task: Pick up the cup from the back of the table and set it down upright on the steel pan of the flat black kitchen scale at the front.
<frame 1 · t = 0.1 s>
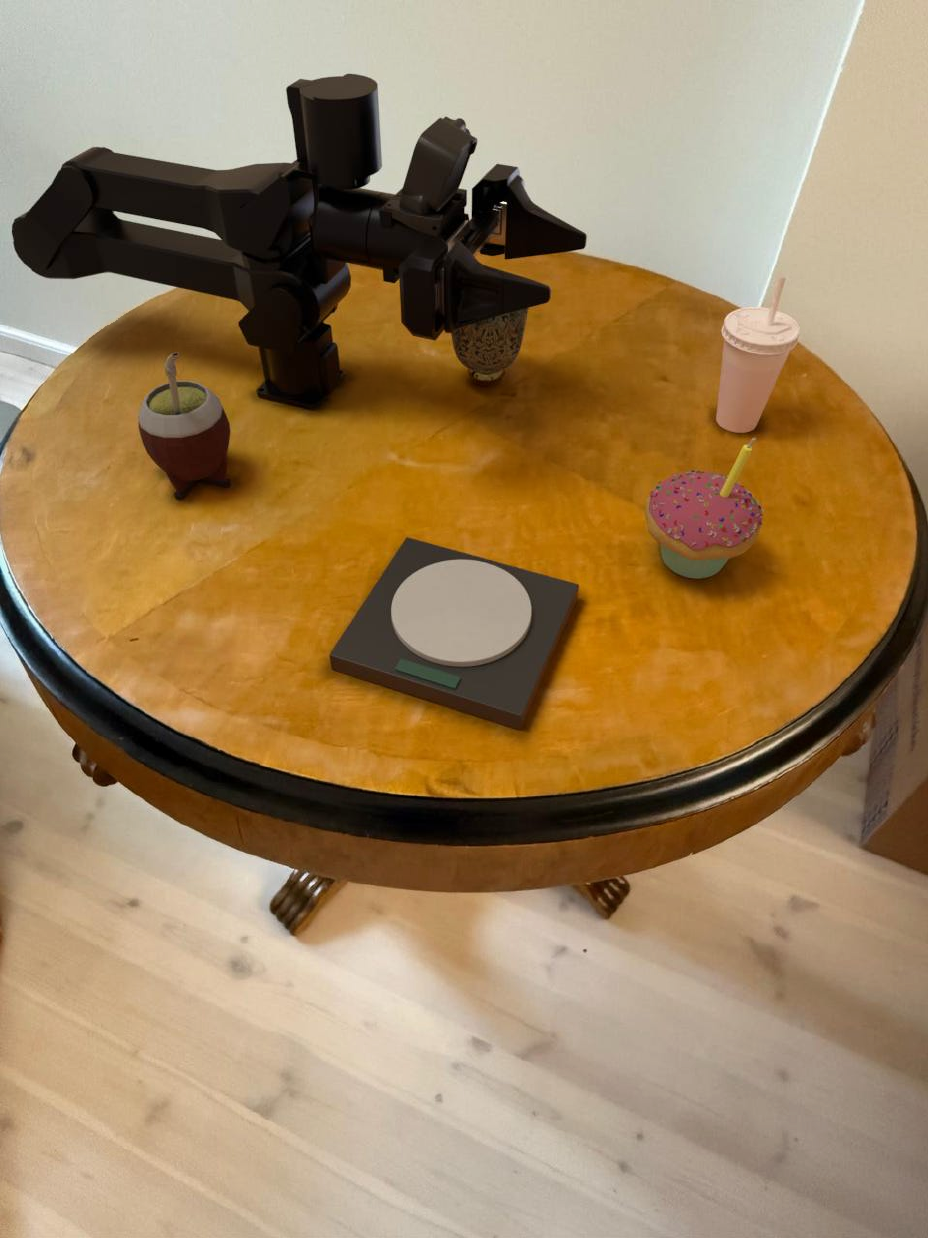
hand: (568, 266, 68), 17 cm above the table, tool horizontal, fingers open, 9 cm apart
smoothie: (735, 422, 83), on the table
scale: (458, 633, 65), on the table
cupcake: (690, 560, 70), on the table
mate gourd: (201, 482, 77), on the table
cup: (486, 379, 88), on the table
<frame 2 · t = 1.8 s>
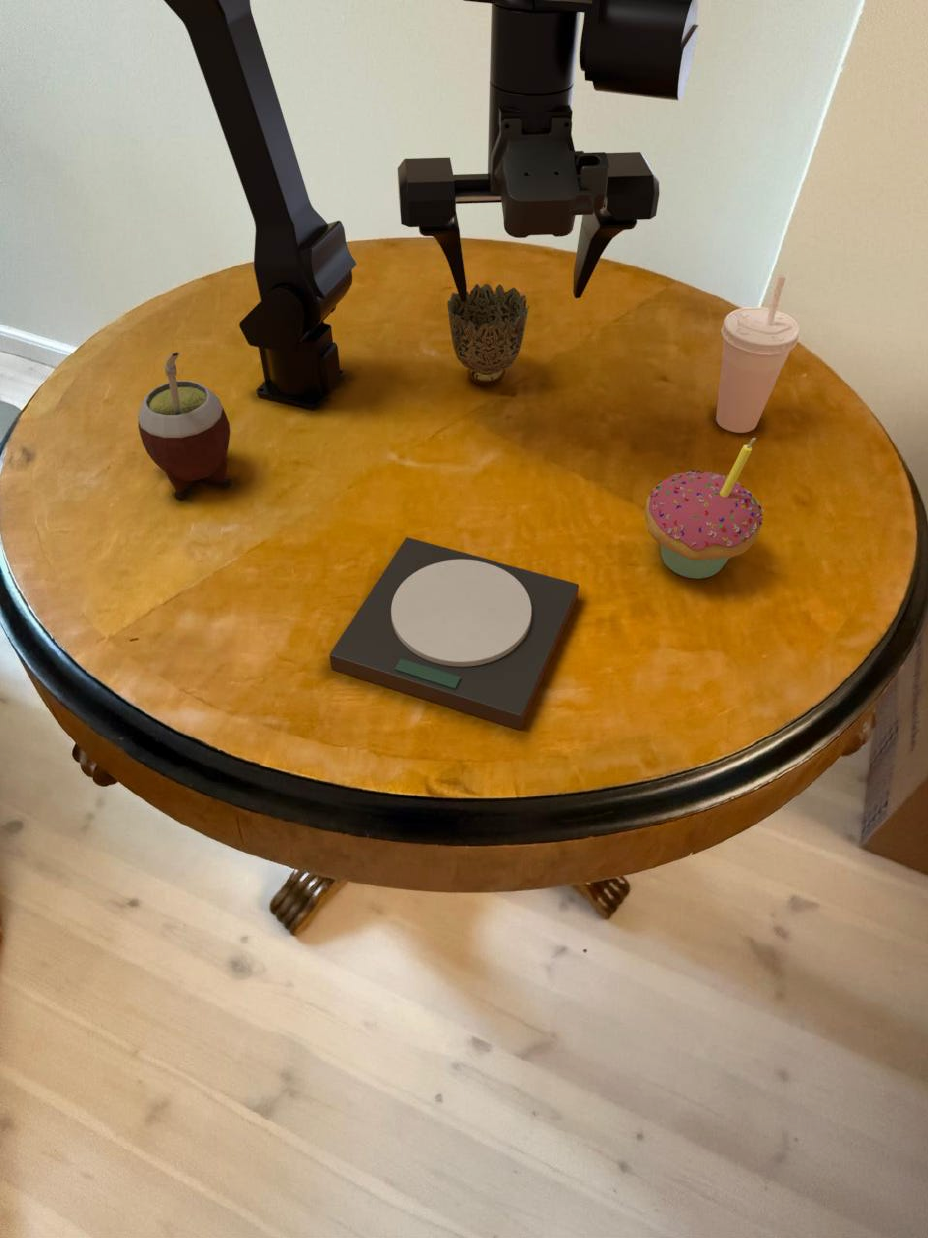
hand: (520, 297, 72), 13 cm above the table, tool pointing down, fingers open, 9 cm apart
nothing on the table moved.
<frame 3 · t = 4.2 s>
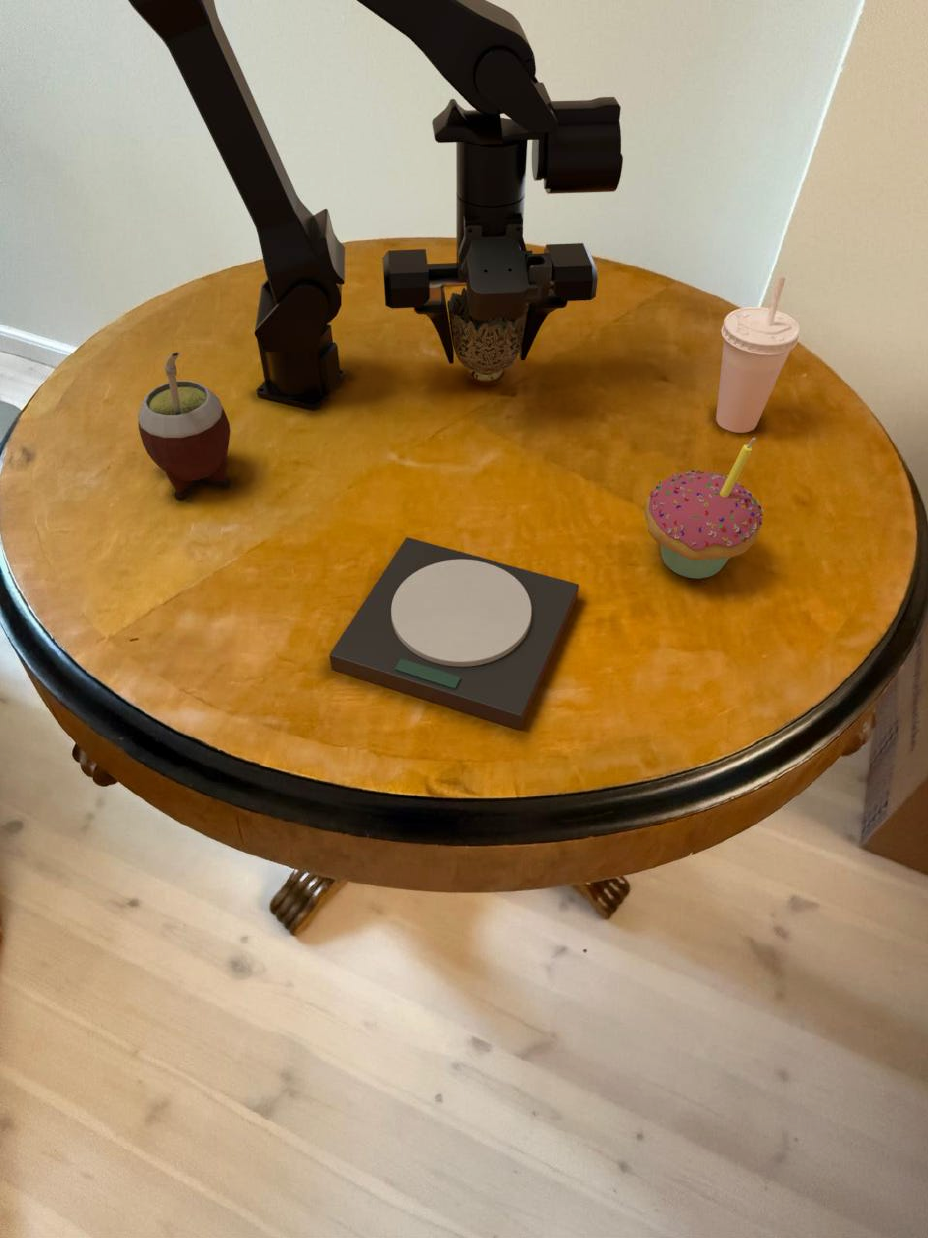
hand: (486, 359, 86), 2 cm above the table, tool pointing down, fingers closed on cup, 6 cm apart
cup: (486, 379, 88), on the table, touching gripper
everything else where it was.
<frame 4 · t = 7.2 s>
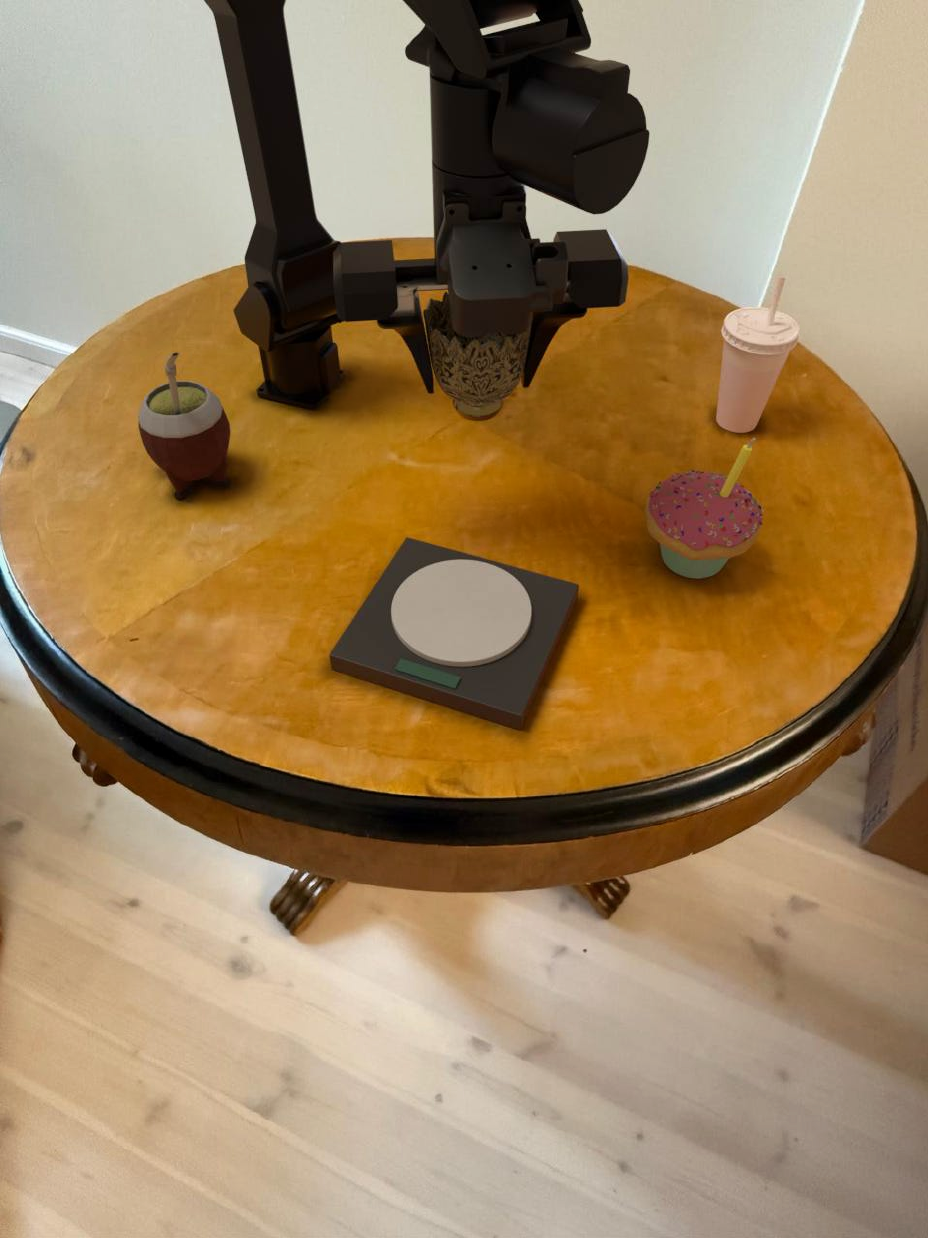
hand: (477, 387, 65), 12 cm above the table, tool pointing down, fingers closed on cup, 6 cm apart
cup: (477, 413, 66), point 10 cm above the table, touching gripper
everything else where it was.
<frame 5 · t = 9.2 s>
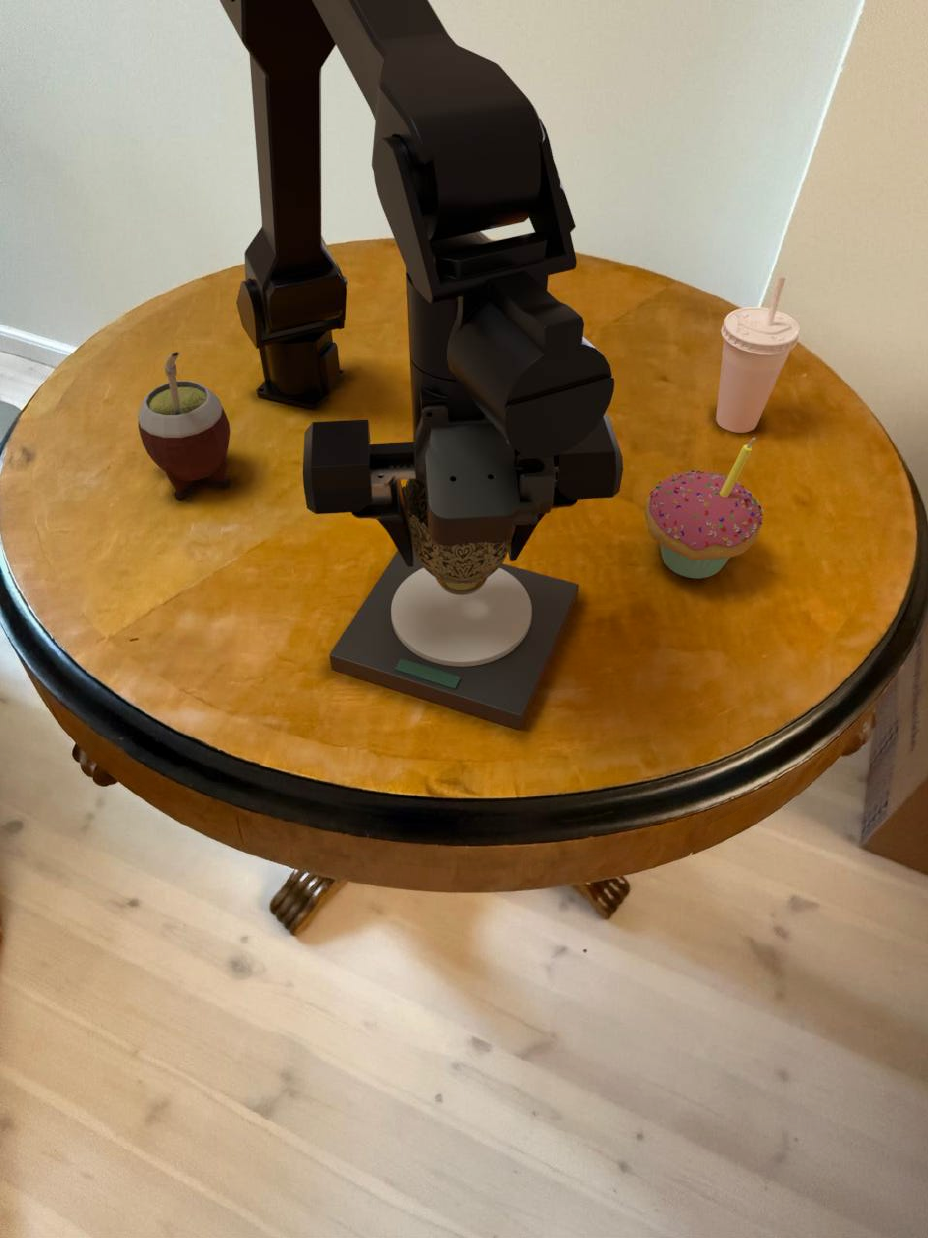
hand: (460, 559, 60), 7 cm above the table, tool pointing down, fingers closed on cup, 6 cm apart
cup: (461, 582, 62), point 5 cm above the table, touching gripper
everything else where it was.
when the fingers open (4 cm above the table, at t = 10.5 s): cup stays where it is, resting on scale.
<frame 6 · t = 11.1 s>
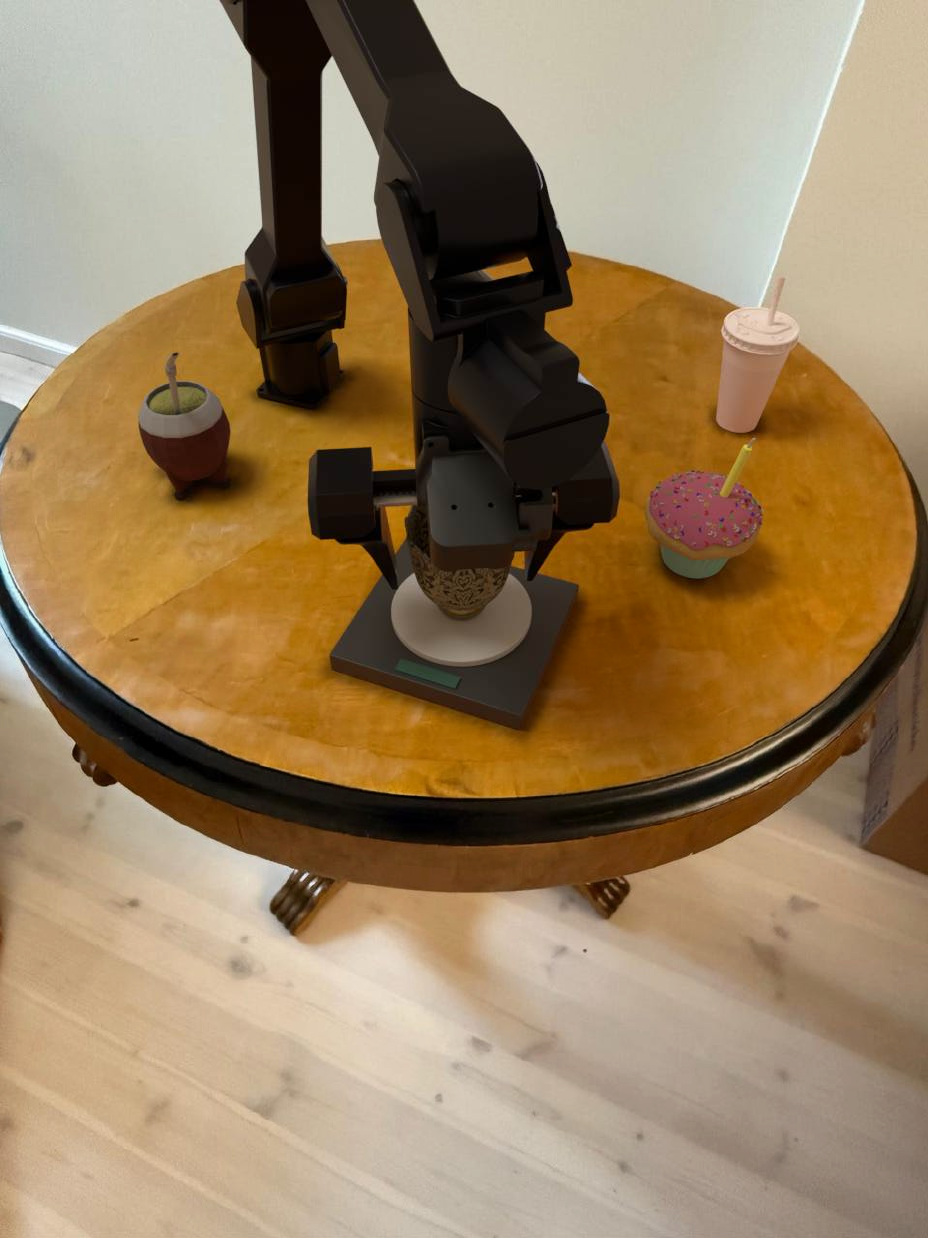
hand: (462, 581, 62), 5 cm above the table, tool pointing down, fingers open, 9 cm apart
cup: (461, 608, 64), point 2 cm above the table, touching scale
everything else where it was.
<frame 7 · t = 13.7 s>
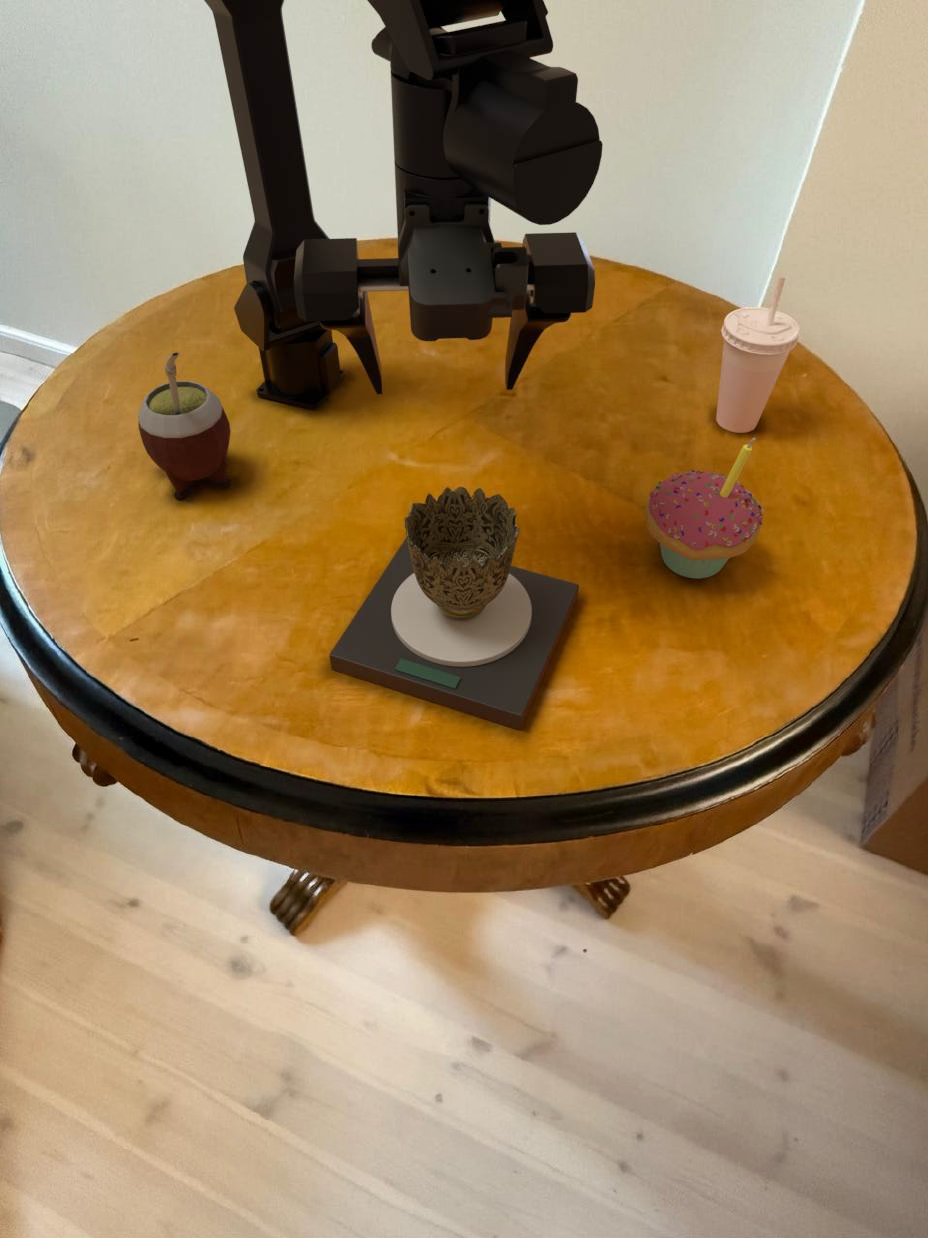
hand: (444, 389, 64), 13 cm above the table, tool pointing down, fingers open, 9 cm apart
nothing on the table moved.
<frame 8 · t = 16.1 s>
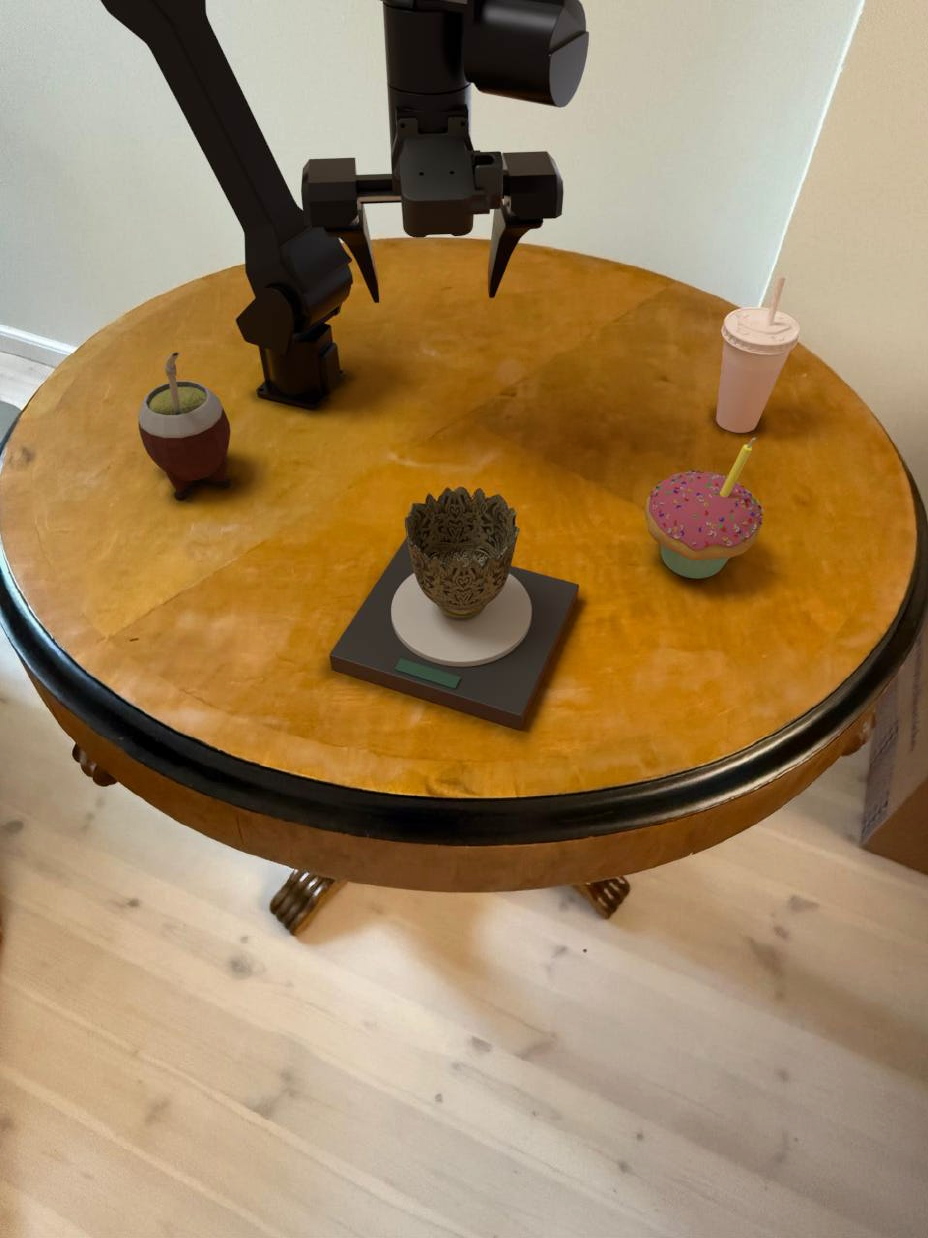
hand: (434, 298, 72), 13 cm above the table, tool pointing down, fingers open, 9 cm apart
nothing on the table moved.
at the end: cup inside the target area on the scale (0.1 cm from its centre), point 2.0 cm above the scale's base; cup tilted 0°; the gripper is holding nothing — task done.
